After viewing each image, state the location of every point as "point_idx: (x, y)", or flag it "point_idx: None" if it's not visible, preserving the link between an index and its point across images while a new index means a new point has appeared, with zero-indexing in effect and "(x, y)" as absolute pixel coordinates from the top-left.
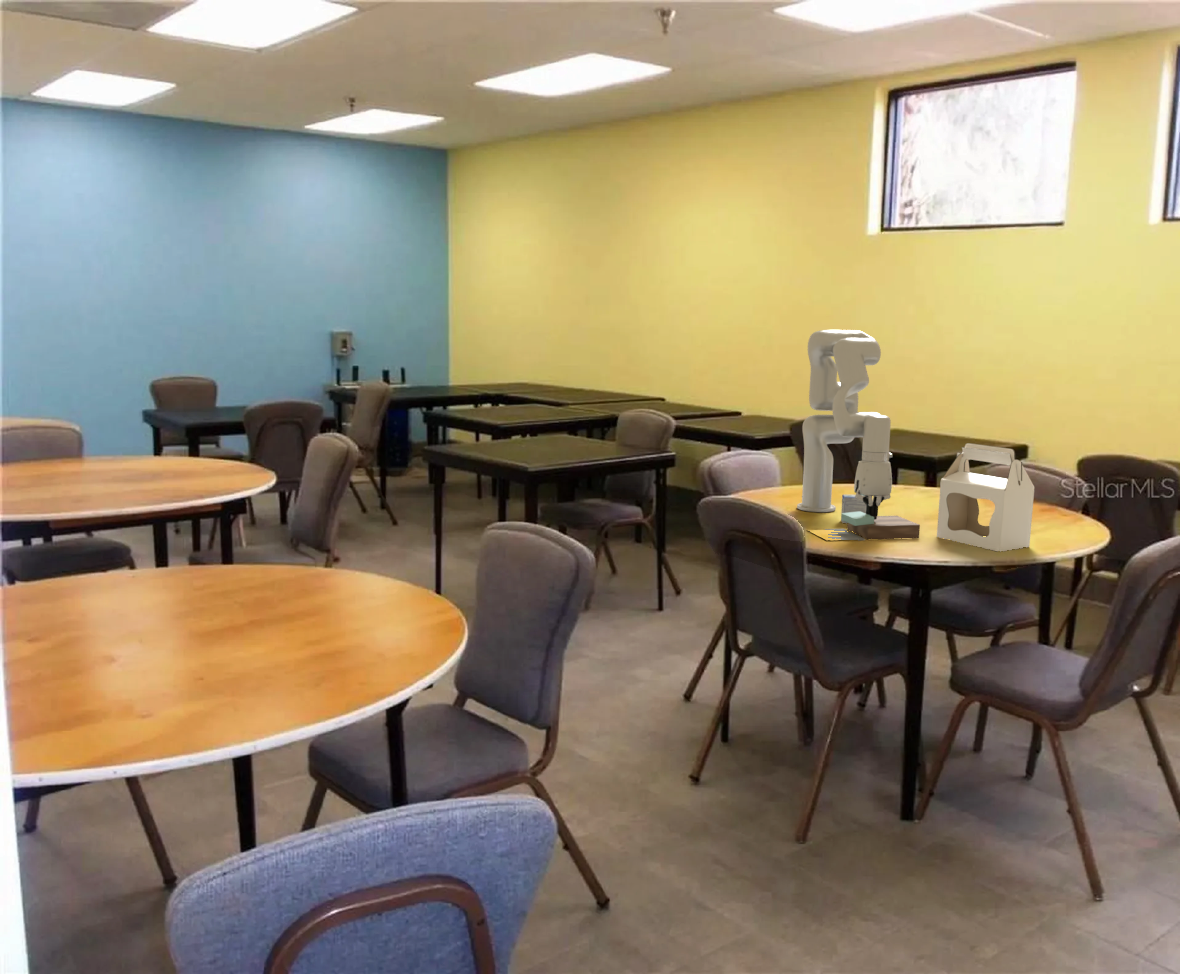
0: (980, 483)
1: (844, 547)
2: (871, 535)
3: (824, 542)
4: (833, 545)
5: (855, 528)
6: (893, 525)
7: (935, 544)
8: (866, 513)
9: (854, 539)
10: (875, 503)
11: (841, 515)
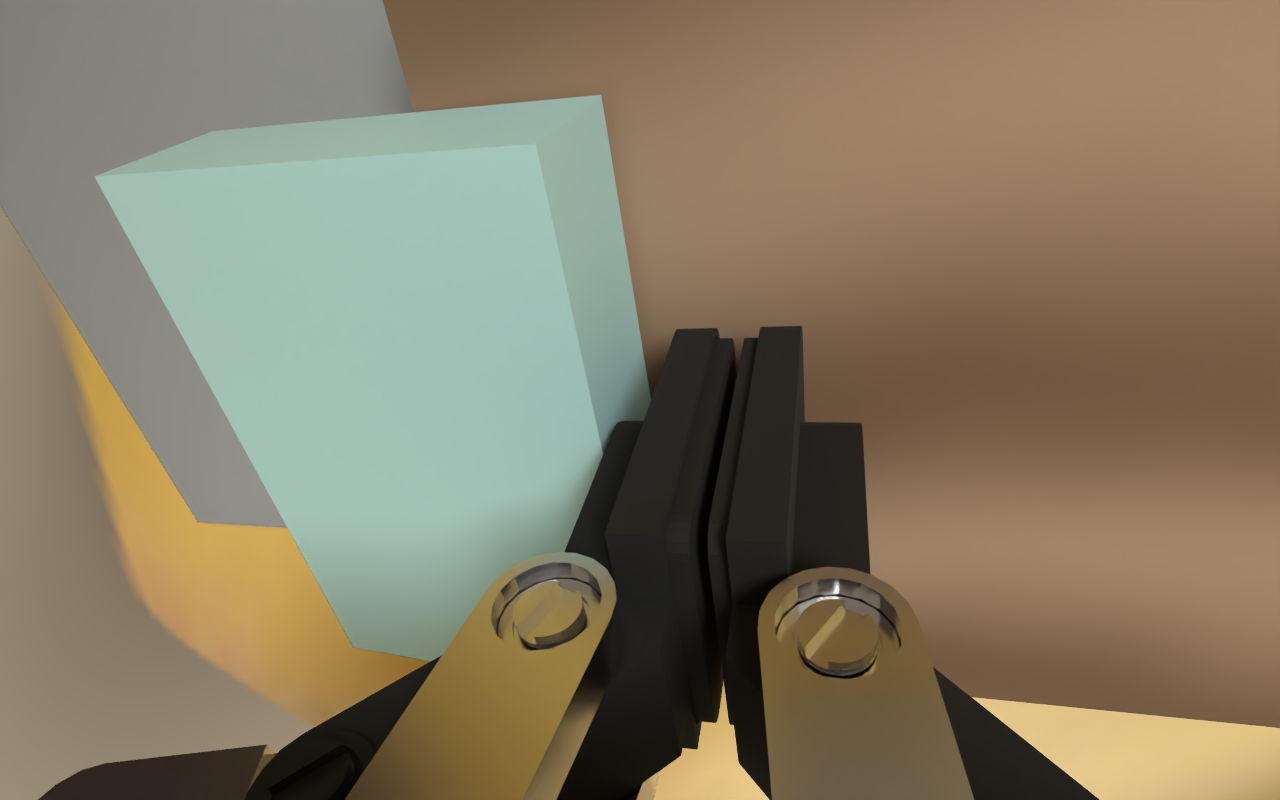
0: None
1: (350, 680)
2: None
3: (193, 537)
4: (270, 623)
5: None
6: (964, 691)
7: (1276, 784)
8: (615, 453)
9: None
10: (765, 783)
11: (140, 164)
